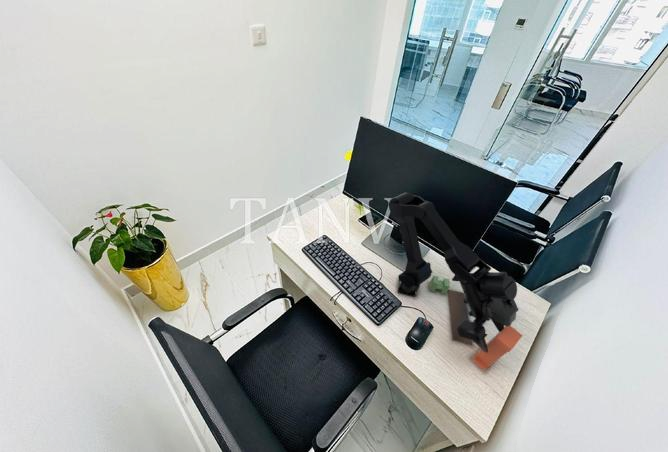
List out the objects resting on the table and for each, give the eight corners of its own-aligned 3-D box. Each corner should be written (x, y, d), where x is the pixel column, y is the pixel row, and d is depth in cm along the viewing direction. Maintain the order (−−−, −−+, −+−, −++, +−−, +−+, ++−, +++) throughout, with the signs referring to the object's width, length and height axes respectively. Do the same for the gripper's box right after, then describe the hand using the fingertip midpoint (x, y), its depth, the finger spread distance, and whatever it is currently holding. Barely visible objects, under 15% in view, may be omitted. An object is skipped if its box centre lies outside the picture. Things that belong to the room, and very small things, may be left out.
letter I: (471, 359, 79) (496, 337, 68) (482, 347, 82) (508, 323, 71) (483, 371, 76) (511, 349, 66) (494, 357, 79) (522, 335, 69)
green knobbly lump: (445, 294, 96) (450, 286, 92) (429, 290, 97) (433, 282, 93) (444, 286, 98) (449, 279, 95) (429, 283, 99) (433, 275, 96)
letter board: (452, 339, 83) (453, 338, 82) (447, 290, 97) (448, 289, 96) (471, 345, 82) (472, 344, 81) (464, 294, 96) (465, 293, 96)
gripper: (487, 317, 60) (509, 374, 62) (521, 280, 69) (540, 330, 70) (447, 309, 70) (467, 359, 71) (482, 277, 79) (499, 322, 80)
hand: (494, 342), depth 73 cm, fingers open, 9 cm apart
